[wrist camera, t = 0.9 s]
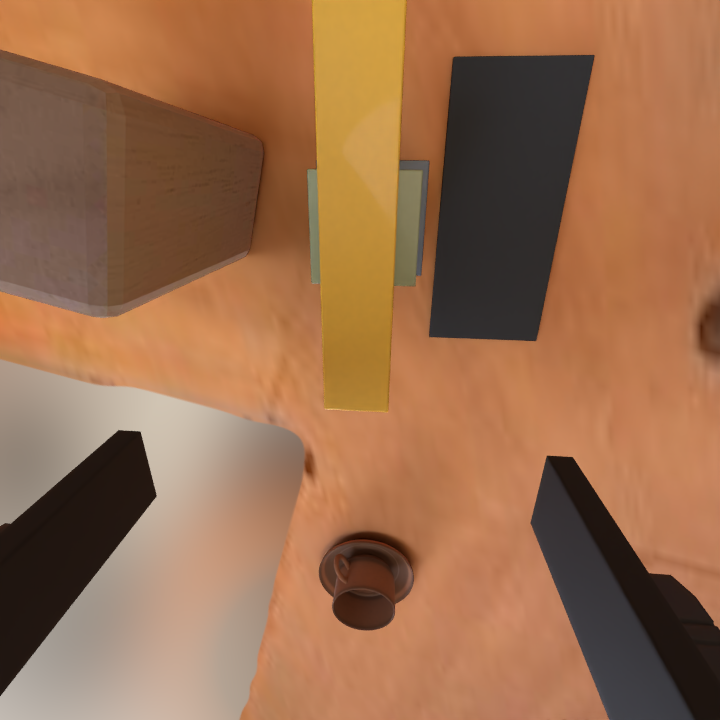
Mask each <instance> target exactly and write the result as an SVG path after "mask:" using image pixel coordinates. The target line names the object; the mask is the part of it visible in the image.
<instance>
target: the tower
mask: <svg viewBox="0 0 720 720" xmlns="http://www.w3.org/2000/svg"><path fill="white" fill-rule="evenodd" d="M428 174H429V161H419V160H400V163H399V185H398V207H397V229H396V251H395V273H394V286H415V285H416V275H417V276H420V275H421V271H422V257H423V243H424V229H425V216H426V202H427V188H428ZM307 182H308V207H309V233H310V258H311V282H312V283H313V284H320V252H319V219H318V187H317V160H316V169H307Z"/></svg>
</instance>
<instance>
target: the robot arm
mask: <svg viewBox="0 0 720 720" xmlns="http://www.w3.org/2000/svg"><path fill="white" fill-rule="evenodd" d="M155 498H156V492H155V487H154V483H153V480H152V475H151V471H150V468H149V464H148V460H147V456H146V452H145V448H144V444H143V440H142V436H141V432H138V431H122V430H118V431H117V432H116V433H115V434H114V435H113V436H112V437H110V438H109V439H108V440H107V441H106V442H105V443H103V444H102V445H101V446H100V447H99V448H98V449H97V450H95V451H94V452H93V453H92V454H91V455H90V456H88V457H87V458H86V459H85V460H84V461H83V462H82V463H80V464H79V465H78V466H77V467H76V468H75V469H73V470H72V471H71V472H70V473H69V474H68V475H67V476H65V477H64V478H63V479H62V480H61V481H60V482H58V483H57V484H56V485H55V486H54V487H53V488H52V489H51V490H49V491H48V492H47V493H46V494H45V495H44V496H42V497H41V498H40V499H39V500H38V501H37V502H35V503H34V504H33V505H32V506H31V507H30V508H29V509H27V510H26V511H25V512H24V513H23V514H22V515H20V516H19V517H18V518H17V519H16V520H15V521H14V522H13V523H11V524H7V523H5V524H3V525H1V526H0V696H1V694H2V693H3V692H4V691H5V689H6V688H7V687H8V685H9V684H10V683H11V682H12V680H13V679H14V678H15V677H16V675H17V674H18V673H19V672H20V670H21V669H22V668H23V666H24V665H25V664H26V663H27V661H28V660H29V659H30V657H31V656H32V655H33V654H34V652H35V651H36V650H37V648H38V647H39V646H40V645H41V643H42V642H43V641H44V640H45V638H46V637H47V636H48V634H49V633H50V632H51V631H52V629H53V628H54V627H55V625H56V624H57V623H58V621H59V620H60V619H61V618H62V617H63V615H64V614H65V612H66V611H67V610H68V609H69V608H70V606H71V605H72V604H73V602H74V601H75V600H76V599H77V597H78V596H79V595H80V594H81V592H82V591H83V590H84V588H85V587H86V586H87V584H88V583H89V582H90V581H91V579H92V578H93V577H94V576H95V574H96V573H97V572H98V571H99V569H100V568H101V567H102V565H103V564H104V563H105V561H106V560H107V559H108V558H109V556H110V555H111V554H112V553H113V551H114V550H115V549H116V547H117V546H118V545H119V544H120V542H121V541H122V540H123V539H124V537H125V536H126V535H127V533H128V532H129V531H130V530H131V528H132V527H133V526H134V524H135V523H136V522H137V521H138V519H139V518H140V517H141V515H142V514H143V513H144V512H145V510H146V509H147V508H148V507H149V505H150V504H151V503H152V501H153V500H154V499H155ZM531 525H532V528H533V530H534V533H535V535H536V538H537V540H538V543H539V545H540V548H541V550H542V553H543V555H544V558H545V560H546V563H547V565H548V568H549V570H550V573H551V575H552V578H553V580H554V583H555V585H556V588H557V590H558V592H559V595H560V597H561V600H562V602H563V605H564V607H565V610H566V612H567V615H568V617H569V620H570V622H571V625H572V627H573V630H574V632H575V635H576V637H577V640H578V642H579V645H580V647H581V650H582V652H583V655H584V657H585V660H586V662H587V665H588V667H589V670H590V672H591V675H592V677H593V680H594V682H595V685H596V687H597V690H598V692H599V695H600V697H601V700H602V702H603V705H604V707H605V710H606V712H607V715H608V717H609V720H720V630H719V628H718V627H717V626H714V623H713V622H714V621H713V620H712V619H711V617H710V616H709V615H708V613H707V612H706V610H705V609H704V608H703V606H702V605H701V604H700V602H699V601H698V599H697V598H696V597H695V596H694V595H693V594H692V593H691V592H690V591H688V590H687V589H686V588H685V587H684V586H683V585H682V584H680V583H679V582H678V581H677V580H676V579H675V578H674V577H672V576H671V575H664V574H651V573H648V571H647V570H646V568H645V567H644V565H643V564H642V562H641V561H640V559H639V558H638V556H637V555H636V553H635V552H634V550H633V548H632V547H631V545H630V544H629V542H628V541H627V539H626V538H625V536H624V535H623V533H622V532H621V530H620V529H619V527H618V526H617V524H616V523H615V521H614V519H613V518H612V516H611V515H610V513H609V512H608V510H607V509H606V507H605V506H604V504H603V503H602V501H601V500H600V498H599V497H598V495H597V494H596V492H595V490H594V489H593V487H592V486H591V484H590V483H589V481H588V480H587V478H586V477H585V475H584V474H583V472H582V471H581V469H580V468H579V466H578V465H577V463H576V461H575V460H574V458H573V457H561V456H547V458H546V462H545V466H544V470H543V474H542V478H541V482H540V487H539V491H538V495H537V499H536V503H535V507H534V511H533V515H532V520H531Z"/></svg>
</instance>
